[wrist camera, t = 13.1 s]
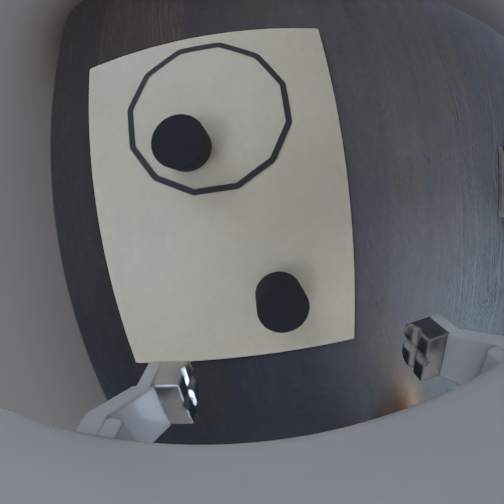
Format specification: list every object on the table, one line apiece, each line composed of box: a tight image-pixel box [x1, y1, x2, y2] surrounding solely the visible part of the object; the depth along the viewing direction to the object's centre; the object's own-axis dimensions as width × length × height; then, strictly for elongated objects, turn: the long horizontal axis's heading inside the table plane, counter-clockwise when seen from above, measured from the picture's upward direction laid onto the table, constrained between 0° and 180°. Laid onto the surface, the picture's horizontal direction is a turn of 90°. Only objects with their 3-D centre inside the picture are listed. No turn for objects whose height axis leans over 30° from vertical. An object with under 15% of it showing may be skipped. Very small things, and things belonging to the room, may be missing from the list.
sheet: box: [89, 28, 355, 363], centre depth 22 cm, size 22×30×1 cm
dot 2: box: [151, 114, 212, 172], centre depth 20 cm, size 4×4×4 cm
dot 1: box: [255, 272, 310, 333], centre depth 22 cm, size 4×4×4 cm
